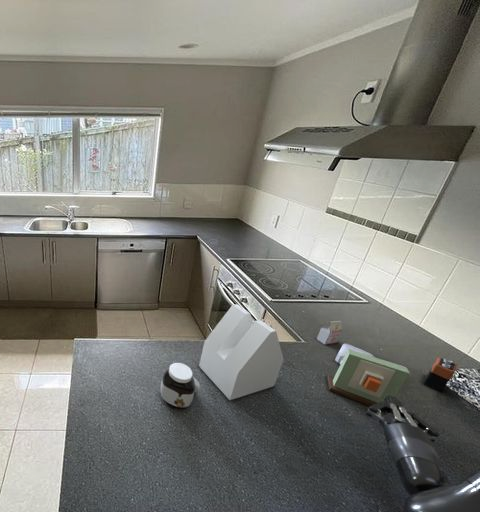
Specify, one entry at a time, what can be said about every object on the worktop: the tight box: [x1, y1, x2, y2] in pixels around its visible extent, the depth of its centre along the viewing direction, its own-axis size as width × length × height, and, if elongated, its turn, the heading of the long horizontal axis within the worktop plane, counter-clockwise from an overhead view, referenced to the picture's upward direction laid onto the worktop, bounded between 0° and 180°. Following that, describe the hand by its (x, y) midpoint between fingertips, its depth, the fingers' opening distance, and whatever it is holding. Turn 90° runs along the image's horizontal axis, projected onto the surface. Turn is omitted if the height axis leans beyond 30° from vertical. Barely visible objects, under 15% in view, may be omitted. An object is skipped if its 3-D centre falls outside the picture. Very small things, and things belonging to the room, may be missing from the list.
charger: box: [334, 343, 375, 366], centre depth 105 cm, size 5×9×15 cm
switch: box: [364, 376, 381, 392], centre depth 87 cm, size 3×2×4 cm
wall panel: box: [326, 349, 411, 413], centre depth 91 cm, size 16×8×15 cm, turn 57°
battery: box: [423, 357, 458, 392], centre depth 98 cm, size 4×7×10 cm, turn 124°
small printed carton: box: [316, 320, 343, 346], centre depth 118 cm, size 4×7×10 cm, turn 103°
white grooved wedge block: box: [198, 303, 285, 401], centre depth 95 cm, size 19×15×25 cm
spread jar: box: [160, 362, 201, 409], centre depth 89 cm, size 12×11×12 cm
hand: (390, 398), depth 75 cm, fingers closed
